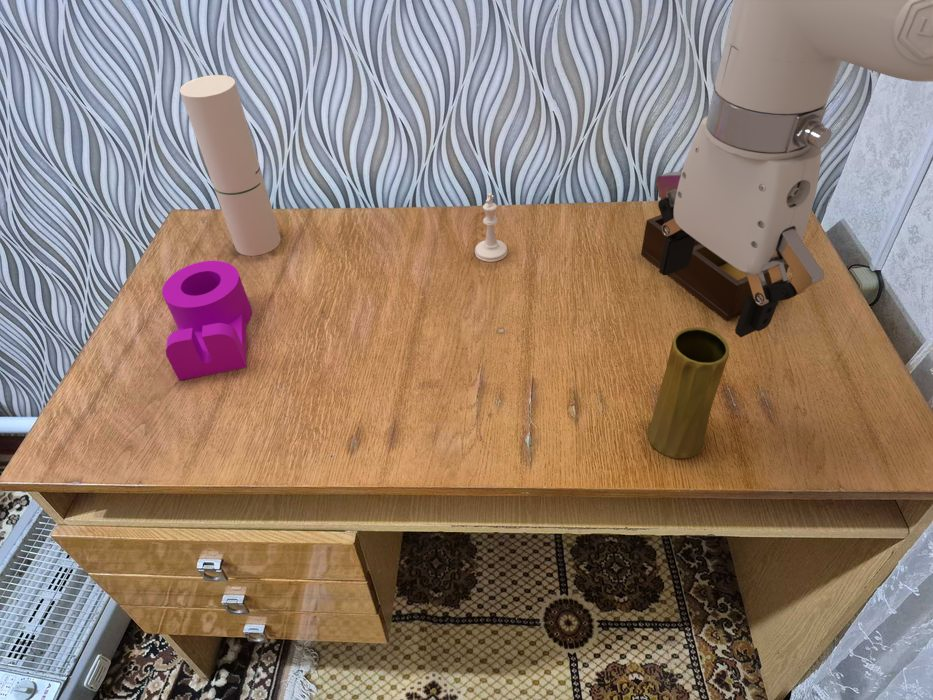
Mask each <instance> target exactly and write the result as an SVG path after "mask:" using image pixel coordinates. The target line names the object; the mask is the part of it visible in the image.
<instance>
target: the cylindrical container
mask: <svg viewBox="0 0 933 700" xmlns="http://www.w3.org/2000/svg"><path fill="white" fill-rule="evenodd" d="M179 93H180V96H181V99H182V101H183V104H184V107H185V110H186V113H187V116H188V119H189V121H190V124H191V127H192V130H193V133H194V135H195V138H196V141H197V144H198V147H199V150H200V153H201V155H202V158H203V161H204V164H205V167H206V170H207V172H208V175H209V178H210V181H211V183H212V187H213V190H214V192H215V195H216V197H217V201H218V203H219V206H220V209H221V212H222V215H223V217H224V220H225V223H226V226H227V228H228V232H229V235H230V237H231V240H232V243H233V246H234V248H235V251H236V252H237V253H239V254H240V255H243V256H247V257H256V256H261V255H265V254H267V253H270V252H272V251H273V250H275V249H276V248H277V247H278V246H279V245H280V243H281V241H282V238H281V233H280V231H279V227H278V224H277V219H276V216H275V213H274V210H273V207H272V203H271V200H270V196H269V192H268V189H267V186H266V183H265V180H264V176H263V172H262V170H261V166H260V163H259V158H258V155H257V153H256V149H255V145H254V141H253V138H252V135H251V132H250V131H251V130H250V128H249V125H248V122H247V118H246V115H245V112H244V108H243V105H242V101H241V97H240V94H239V91H238V87H237V84H236V81H235V78H233V77H232V76H230V75H225V74H211V75H204V76H200V77H197V78H193V79H191V80H189V81H187V82H185V83H183V84H182V85H181V86H180V88H179Z"/></svg>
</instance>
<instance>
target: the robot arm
mask: <svg viewBox="0 0 933 700" xmlns="http://www.w3.org/2000/svg"><path fill="white" fill-rule="evenodd" d="M842 62H845V63H848V64H851V65H854V66H857V67H860V68H863V69H866V70H869V71H872V72H875V73H878V74H882V75H885V76H888V77H891V78H895V79H900V80H905V81H910V82H926V83H927V82H933V0H733V4H732V9H731V13H730V17H729V21H728V26H727V31H726V35H725V40H724V44H723V49H722V53H721V57H720V62H719V66H718V68H717V69H718V70H717V74H716V78H715V83H714V87H713V91H712V95H711V100H710V104H709V109H708V113H707V116H705V117H704V118H702V121H701V122H700V124H699V126H698V128H697V130H696V132H695V135H694V137H693V140H692V142H691V144H690V147H689V150H688V152H687V155H686V158H685V161H684V163H683V167H682V171H668V172H666V173H663V174H660V175H658V176H657V177H656V181H655V182H656V186H657V187H656V188H657V193H658V198H660V200H659V201H658V204H657V205H658V209H659V212H660V215H662V218H663V220H664V223H665V224H663V225H662V232H663V234H664V235H665V236H667V238H666V241H665V245H664V250H663V255H662V259H661V264H660V269H659V268H658V272H659V273H660V274H661V275H662V276H668V275H669V274H671V273H674V272H676V271H679V270H681V269H684V268H686V267H688V266H689V264H690V260H691V256H692V252H693V248H694V244H695V240H697V241H698V242H700V243H701V244H702V245H704V246H705V247H706V248H708V249H709V250H711V251H712V252H713V253H715V254H716V255H718V256H719V257H720V258H722V259H723V260H725V261H726V262H728V263H729V264H731V265H732V266H734V267H735V268H737V269H738V270H740V271H742V272H744V273H746V274H747V278H748V281H749V284H750V288H751V291H752V294H753V295H752V296H750V297H748V298H747V299H746V300H745V302H744V305H743V308H742V311H741V314H740V315H739V316H738V319H737V323H736V325H735V328H734V331H735V334H736V335H737V336H738V337H739V338H744V337H745V336H747V335H749V334H752V333H753V332H755V331H756V332H761V331H763V330H764V329H766V328H768V327H769V325H770V323H771V322H772V319H773V317H774V314H775V312H776V309H777V306H778V303H779V302H781V301H787V300H790V299H792V298H795V297H797V296H799V295H801V294H803V293H805V292H806V291H807V290H809V289H810V288H812V287H813V286H815V285H817V284H818V283H820V282H821V281H822V280H823V279H824V277H825V272H824V271H823V269H822V268H821V266H820V264H819V263H818V262H817V260H816V259H815V257H814V256H813V255H812V254H811V251H810V250H809V249H808V247H807V246H806V244H805V243H804V242H803V241H804V240H803V239H804V237H805V234H806V231H807V227H808V224H809V221H810V217H811V213H812V210H813V207H814V203H815V198H816V195H817V189H818V185H819V177H820V171H821V161H822V148H824V147H825V146H826V145H827V144H828V143H829V141H830V139H831V137H832V130H831V129H829V128H828V127H825V125H824V123H822V122H823V119H824V116H825V113H826V111H827V107H826V106H827V103H828V101H829V98H830V95H831V93H832V89H833V87H834V85H835V82H836V78H837V76H838V73H839V70H840V67H841V64H842ZM783 260H785V261H786V263H787V264H788V266H789V267H788V268H789V269H790V270H791V273H792V277H790V279H789V277H788V273H786V271H785V267H784V264H783ZM765 270H768V271H769V275H770V278H771V282H772V284H770V285H767V284H766V281H765V277H764V274H763V271H765Z"/></svg>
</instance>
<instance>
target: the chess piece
mask: <svg viewBox="0 0 933 700" xmlns="http://www.w3.org/2000/svg"><path fill="white" fill-rule="evenodd" d="M494 197H495V196H494V195H493V194H492V193H490V192H488V193H487V199H486V200H485V203H484V204H483V205H482V209H483V212H484V213H485V217H483V219H482V223H483V224H484V225H485V226H486V234H485V239H484V240H482V241H480V242H478V243H477V244H476V245H475V248H474V254H475V257H476V258H477V259H479V260H480V261H483V262H486V263H487V262H489V263H493V262H498V261H502V260H503V259H505V258H506V257H507V255H508V252H509V251H508V247H507V244H506V243H505V242H503V241H502V240H500V239H497V237H496V230H495V225H496V224H497V223H498V218H497V216H495V215H496V211H497V208H498V205H497V204H496V203H495V202H493V200H494Z"/></svg>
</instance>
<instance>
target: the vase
mask: <svg viewBox="0 0 933 700" xmlns="http://www.w3.org/2000/svg"><path fill="white" fill-rule="evenodd" d="M729 355H730V347H729V344H728V341H726V339H725V338H724V337H723V336H722V335H721V334H719V333H718V332H716V331H714V330H713V329H709V328H705V327H699V326H696V327H695V326H694V327H688V328H684V329H681V330H680V331H678V332H677V333H676V334H675V335H674V337H673V338H672V342H671V346H670V350H669V355H668V358H667V364H666V367H665V370H664V374H663V378H662V381H661V383H660V384H661V385H660V389H659V391H658V396H657V399H656V402H655V406H654V409H653V413H652V417H651V421H650V423H649V425H648V428H647V438H648V441H649V442H650V444H651V445H652V447H653V448H654V449H655V450H656V451H658V452H659V453H660V454H662V455H664V456H666V457H669V458H673V459H679V460H680V459H681V460H682V459H689V458H692V457H694V456H696V455H698V454H699V453H700V452H701V451H702V450H703V448H704V445H705V443H706V435H707V431H708V426H709V421H710V416H711V415H710V414H711V412H712V411H711V410H712V407H713V403H714V400H715V397H716V395H717V391H718V389H719V386H720V384H721V380H722V377H723V374H724V370H725V367H726V364H727V362H728V359H729Z"/></svg>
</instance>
